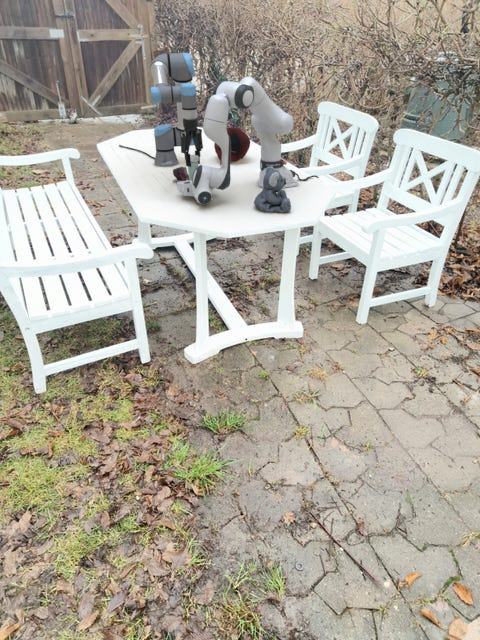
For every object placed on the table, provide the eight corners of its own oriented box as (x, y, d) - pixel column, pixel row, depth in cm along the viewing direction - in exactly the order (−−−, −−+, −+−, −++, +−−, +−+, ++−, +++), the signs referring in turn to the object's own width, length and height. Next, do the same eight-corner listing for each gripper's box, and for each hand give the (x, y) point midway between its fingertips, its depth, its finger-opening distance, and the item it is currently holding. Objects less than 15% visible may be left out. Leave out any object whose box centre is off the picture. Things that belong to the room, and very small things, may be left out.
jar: (192, 189, 251) (190, 155, 241) (201, 190, 249) (199, 156, 239) (188, 192, 247) (185, 158, 236) (197, 194, 245) (195, 159, 235)
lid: (185, 159, 240) (185, 155, 239) (197, 158, 242) (197, 154, 241) (188, 162, 235) (188, 158, 234) (200, 161, 237) (200, 157, 236)
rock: (186, 179, 270) (170, 181, 266) (185, 164, 266) (169, 166, 262) (194, 181, 261) (178, 183, 256) (192, 166, 257) (176, 168, 253)
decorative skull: (211, 133, 303) (210, 130, 280) (245, 125, 303) (247, 122, 279) (218, 165, 310) (218, 165, 287) (251, 158, 309) (254, 157, 286)
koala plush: (292, 213, 220) (294, 173, 209) (255, 214, 219) (256, 174, 208) (286, 201, 234) (288, 162, 223) (252, 202, 233) (252, 164, 222)
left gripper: (198, 114, 235) (200, 159, 248) (170, 120, 223) (175, 167, 236) (208, 116, 231) (210, 162, 244) (181, 122, 219) (184, 170, 232)
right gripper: (217, 180, 235) (212, 172, 246) (179, 184, 230) (175, 176, 241) (218, 192, 238) (212, 184, 249) (180, 196, 234) (176, 187, 245)
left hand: (193, 164), depth 240 cm, fingers closed on lid, 6 cm apart
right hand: (193, 180), depth 245 cm, fingers closed on jar, 5 cm apart
